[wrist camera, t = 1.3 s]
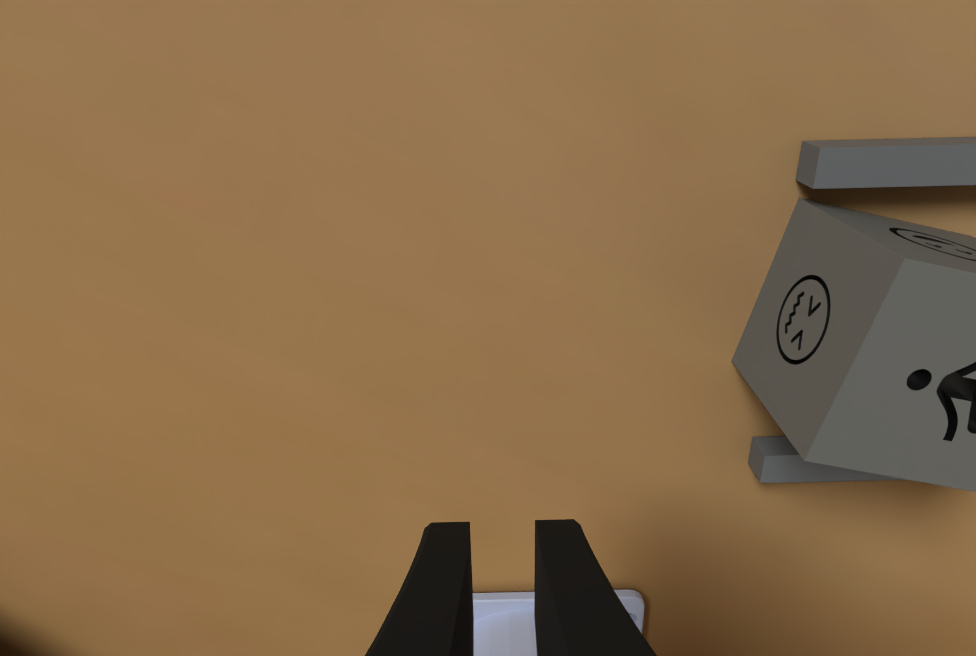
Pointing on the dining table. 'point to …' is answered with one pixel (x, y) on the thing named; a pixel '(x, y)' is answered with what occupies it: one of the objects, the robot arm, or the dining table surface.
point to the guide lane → (862, 169)
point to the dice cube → (869, 345)
